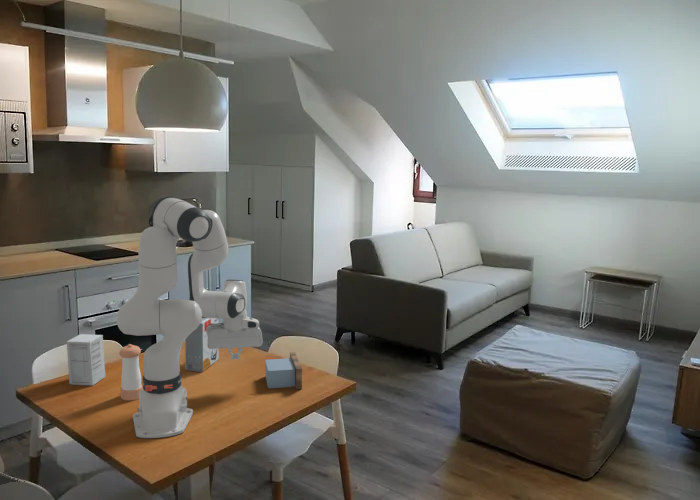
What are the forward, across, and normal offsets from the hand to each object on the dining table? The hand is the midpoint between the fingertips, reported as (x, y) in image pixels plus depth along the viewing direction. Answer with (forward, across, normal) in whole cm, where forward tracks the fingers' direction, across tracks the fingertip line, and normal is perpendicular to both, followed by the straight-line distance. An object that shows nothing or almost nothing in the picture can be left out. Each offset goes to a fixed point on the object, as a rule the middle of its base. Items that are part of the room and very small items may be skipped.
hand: (235, 358), depth 210 cm
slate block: (+10, +17, +1) cm, 20 cm away
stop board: (+10, +23, +1) cm, 25 cm away
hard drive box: (+9, -12, +25) cm, 29 cm away
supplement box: (+10, -54, +17) cm, 57 cm away
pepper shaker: (+11, -36, -2) cm, 38 cm away
